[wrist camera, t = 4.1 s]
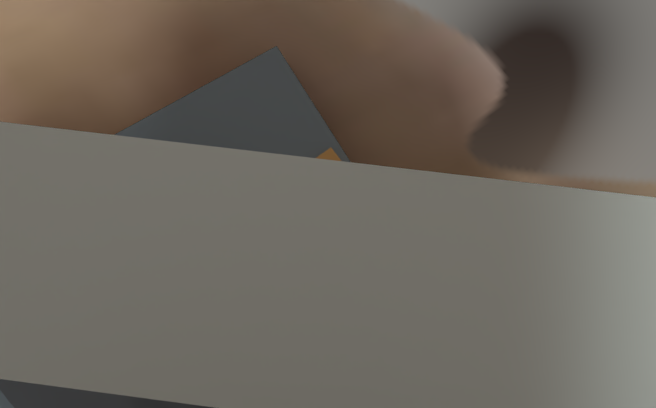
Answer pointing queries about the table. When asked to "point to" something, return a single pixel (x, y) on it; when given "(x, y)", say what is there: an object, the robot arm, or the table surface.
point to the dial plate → (244, 117)
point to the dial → (311, 282)
